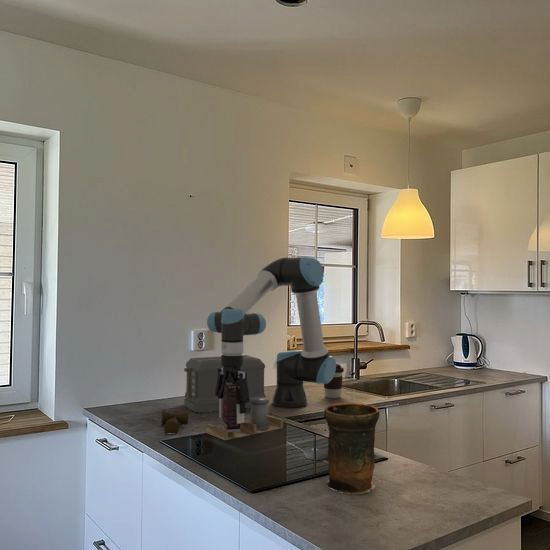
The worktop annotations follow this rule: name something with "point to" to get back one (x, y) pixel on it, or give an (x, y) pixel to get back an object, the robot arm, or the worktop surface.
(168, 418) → the kendama
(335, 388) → the coffee cup
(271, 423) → the oak rack
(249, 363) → the toaster
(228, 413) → the supplement box
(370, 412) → the vessel
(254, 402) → the light grey cylinder
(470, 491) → the worktop surface
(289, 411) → the worktop surface
